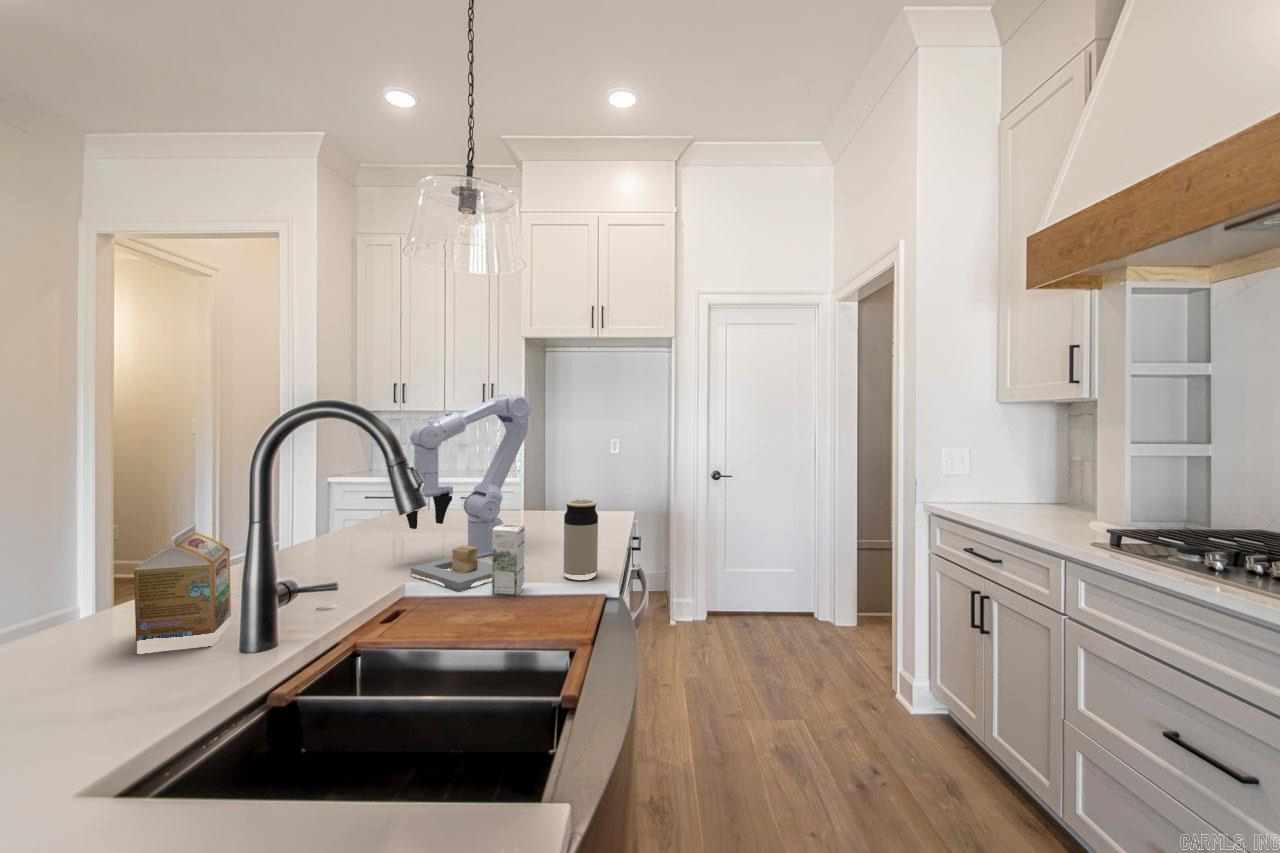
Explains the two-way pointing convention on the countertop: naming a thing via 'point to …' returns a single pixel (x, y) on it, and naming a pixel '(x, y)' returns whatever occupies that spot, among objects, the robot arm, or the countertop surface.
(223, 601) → the milk carton
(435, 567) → the keyhole board
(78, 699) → the countertop surface
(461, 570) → the keyhole peg
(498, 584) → the syrup box
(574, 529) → the travel mug
